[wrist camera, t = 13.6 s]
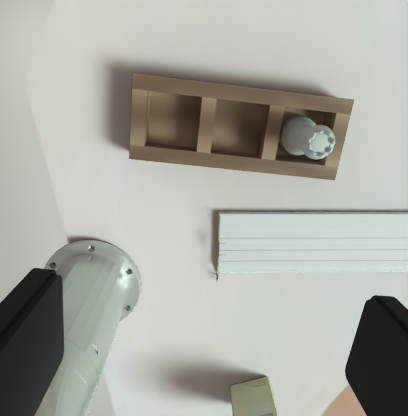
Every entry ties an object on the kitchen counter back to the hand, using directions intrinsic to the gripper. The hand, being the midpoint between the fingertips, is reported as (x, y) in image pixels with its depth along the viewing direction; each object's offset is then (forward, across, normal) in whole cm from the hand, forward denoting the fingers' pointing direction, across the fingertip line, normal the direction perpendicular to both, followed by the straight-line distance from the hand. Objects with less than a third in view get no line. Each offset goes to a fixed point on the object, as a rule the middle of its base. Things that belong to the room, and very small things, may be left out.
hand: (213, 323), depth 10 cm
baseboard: (+31, -19, +10) cm, 38 cm away
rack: (+30, -4, -4) cm, 31 cm away
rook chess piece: (+30, -11, -4) cm, 32 cm away
